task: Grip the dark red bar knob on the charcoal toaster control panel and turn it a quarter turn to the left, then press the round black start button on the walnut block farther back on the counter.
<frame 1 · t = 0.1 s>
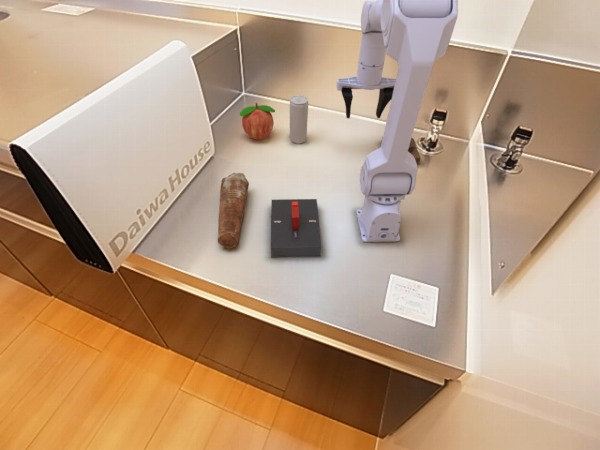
hand: (362, 116, 93), 10 cm above the counter, tool pointing down, fingers open, 7 cm apart
button block: (399, 153, 99), on the counter
button: (402, 139, 96), point 4 cm above the counter, slide at 0.1 cm
toaster knob: (295, 215, 75), point 5 cm above the counter, hinge at 0.0°
bread: (235, 218, 82), on the counter
beverage can: (298, 140, 103), on the counter
fruit: (259, 136, 104), on the counter
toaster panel: (294, 231, 79), on the counter
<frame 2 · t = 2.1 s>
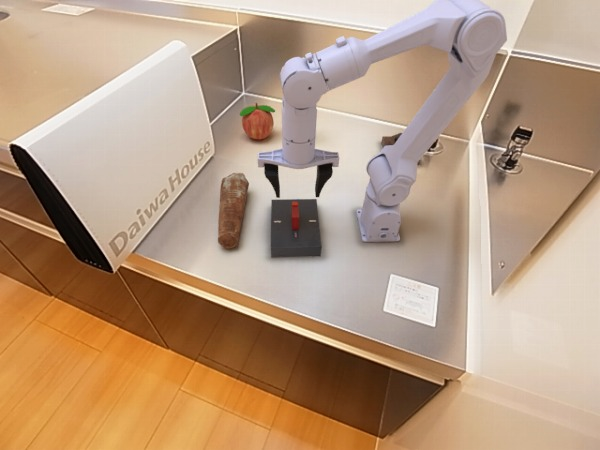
hand: (297, 194, 73), 10 cm above the counter, tool pointing down, fingers open, 7 cm apart
nothing on the counter moved.
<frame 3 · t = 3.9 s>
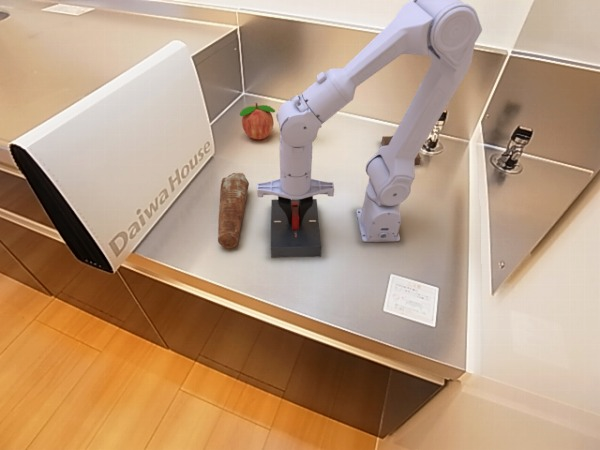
hand: (295, 220, 76), 4 cm above the counter, tool pointing down, fingers closed on toaster knob
toaster knob: (295, 215, 75), point 5 cm above the counter, hinge at 0.0°, touching gripper
everything else where it was.
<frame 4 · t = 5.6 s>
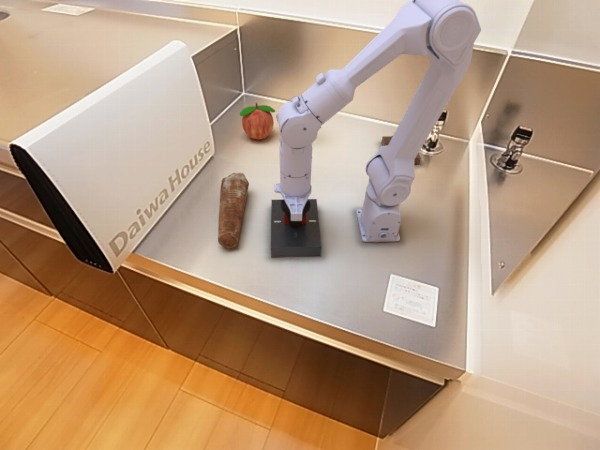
hand: (295, 220, 77), 3 cm above the counter, tool pointing down, fingers closed
toaster knob: (295, 215, 75), point 5 cm above the counter, hinge at 89.7°
everything else where it was.
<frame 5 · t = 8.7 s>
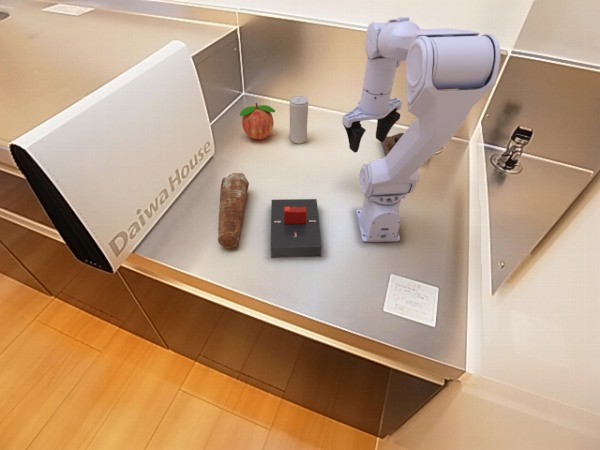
hand: (366, 144, 84), 10 cm above the counter, tool pointing down, fingers open, 7 cm apart
nothing on the counter moved.
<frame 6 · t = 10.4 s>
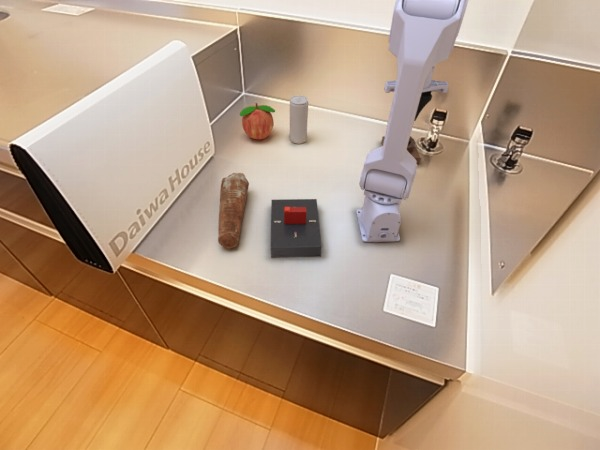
hand: (408, 118, 92), 10 cm above the counter, tool pointing down, fingers closed
nothing on the counter moved.
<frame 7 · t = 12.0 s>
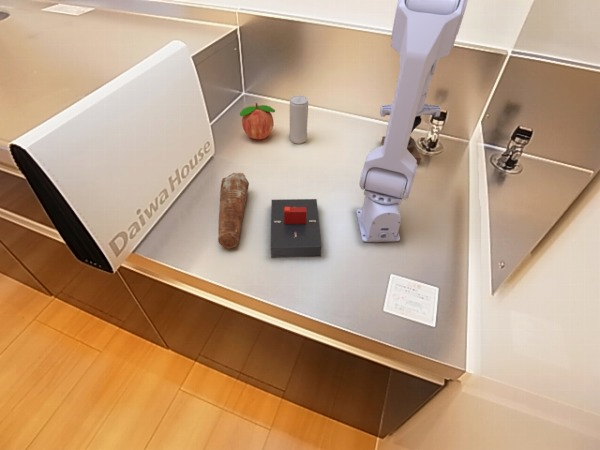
hand: (402, 139, 96), 4 cm above the counter, tool pointing down, fingers closed, pressing on button
button: (402, 142, 97), point 3 cm above the counter, slide at -0.9 cm, touching gripper
everything else where it was.
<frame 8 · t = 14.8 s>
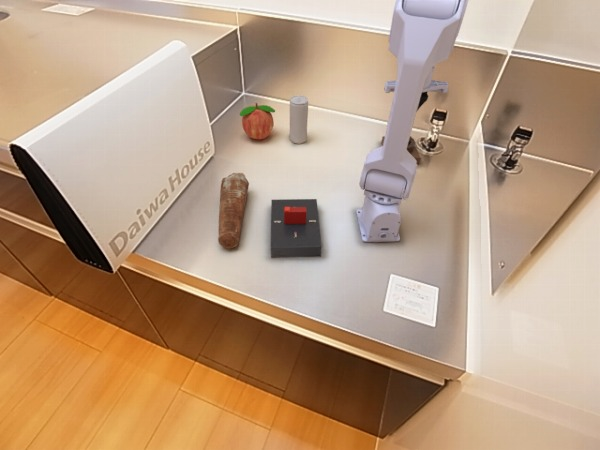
hand: (408, 119, 92), 10 cm above the counter, tool pointing down, fingers closed
button: (402, 139, 96), point 4 cm above the counter, slide at 0.1 cm
everything else where it was.
at the end: toaster knob at +90° (first picture: +0°); button pushed in 1.2 cm at the most during the clip, back to where it started at the end; button slide at 0.1 cm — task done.
